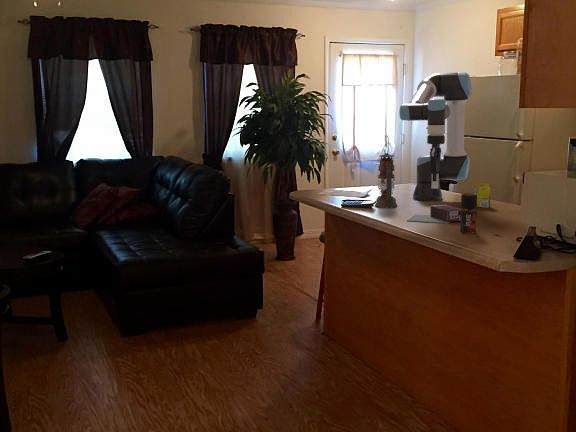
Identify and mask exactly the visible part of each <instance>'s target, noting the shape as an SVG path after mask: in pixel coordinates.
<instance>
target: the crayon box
mask: <svg viewBox="0 0 576 432" xmlns="http://www.w3.org/2000/svg"><path fill="white" fill-rule="evenodd" d="M481 185H482V186H481ZM491 190H492V189H491V186H490V184H489V183H480V182H479V183H477V182H476V183H475V182H474V183H473V194H477V208H488V209H489V208H490V207H491Z"/></svg>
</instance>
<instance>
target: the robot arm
mask: <svg viewBox="0 0 576 432" xmlns="http://www.w3.org/2000/svg"><path fill="white" fill-rule="evenodd" d="M471 95H472V81H471V77H470V74H469V73H467V72H462V71H461V72H459V71H458V72H441V73H440V72H438V73H434V74H430V75H429V76H427V77H425V78H424V79H422V80H421V81H420V82H419V84H418V85H417V88H416V92H415V93H414V94H413V97H412V98H411V100H410V101H409V103H403V104H401V105H400V106H399V114H398V115H399V118H400V120H401V121H407V122H411V121H412V122H414V121H427V127H426V128H425V129H426V130H427V137H426V143H427V145H431V148H430V152H429V154H425V155H421V156H418V157H417V160H416V185H415V187H414V191H413V194H412V199H414V200H416V201H423V202H424V201H426V202H428V201H429V202H430V201H433V202H434V201H441V200H442V199H443V193H442V190H441V186H440V180H451V181H453V180H454V181H455V180H456V181H460V180H461V181H463V180H466V179H467V177H468V173H469V171H470V170H469V169H470V165H471V158H470V157H468V153H467V152H466V150H465V116H466V115H465V108H466V107H465V106H466V103H467V101H468V100H469V97H471ZM436 97H438V98H436ZM439 97H441V98H439ZM442 97H443V98H442ZM445 134H446V135H445ZM445 141H446V151H445V152H444V153H443V156H441V155H442V148H441V146H440V145H444V144H445Z"/></svg>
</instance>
